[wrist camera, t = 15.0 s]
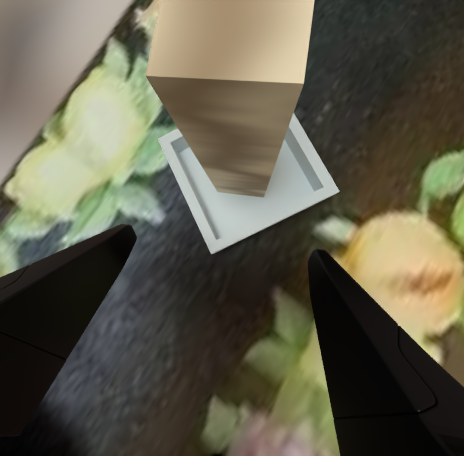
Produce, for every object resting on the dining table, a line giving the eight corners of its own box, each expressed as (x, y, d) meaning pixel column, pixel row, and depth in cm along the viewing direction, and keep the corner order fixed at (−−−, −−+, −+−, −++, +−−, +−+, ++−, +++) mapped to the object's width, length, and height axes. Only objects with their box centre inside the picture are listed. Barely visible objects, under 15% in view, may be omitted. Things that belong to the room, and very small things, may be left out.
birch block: (270, 152, 18) (322, -66, 5) (263, 197, 18) (303, 83, 5) (224, 147, 19) (172, -59, 6) (217, 192, 18) (145, 75, 6)
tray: (324, 199, 18) (339, 191, 15) (217, 252, 19) (211, 254, 16) (269, 102, 20) (272, 77, 17) (171, 153, 20) (157, 138, 17)
